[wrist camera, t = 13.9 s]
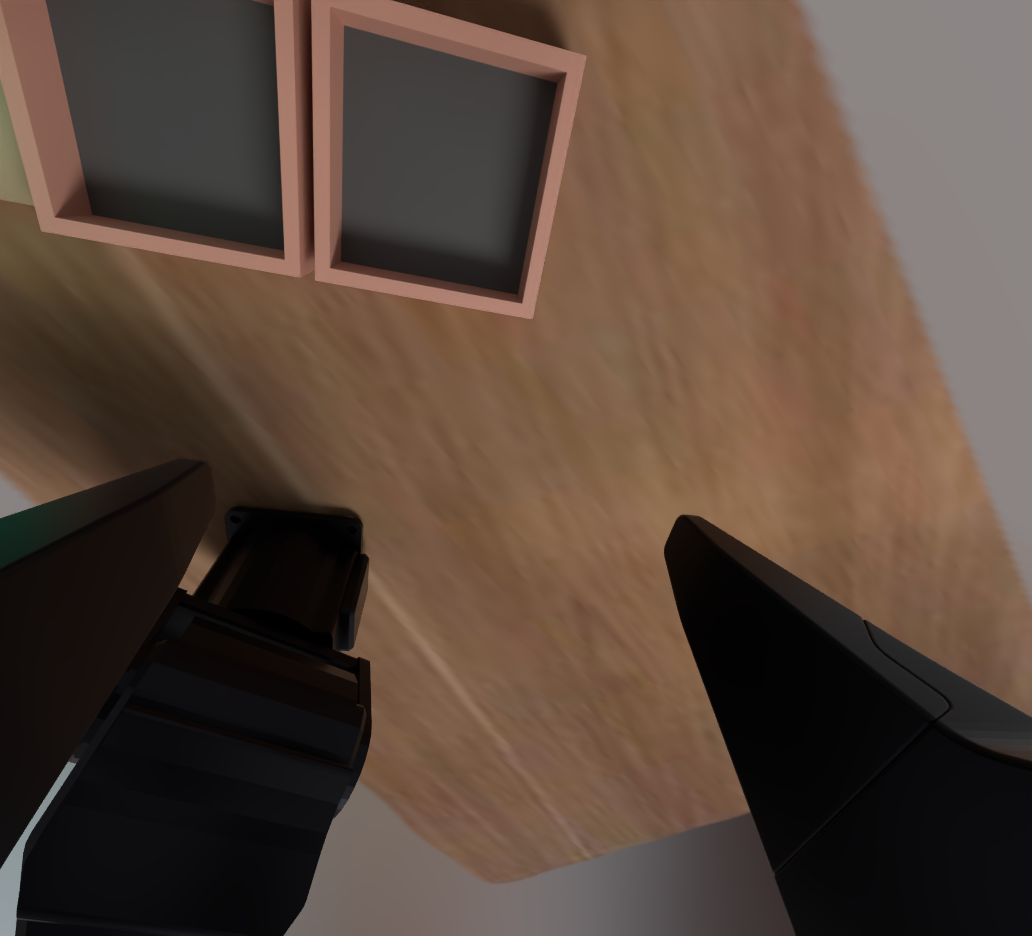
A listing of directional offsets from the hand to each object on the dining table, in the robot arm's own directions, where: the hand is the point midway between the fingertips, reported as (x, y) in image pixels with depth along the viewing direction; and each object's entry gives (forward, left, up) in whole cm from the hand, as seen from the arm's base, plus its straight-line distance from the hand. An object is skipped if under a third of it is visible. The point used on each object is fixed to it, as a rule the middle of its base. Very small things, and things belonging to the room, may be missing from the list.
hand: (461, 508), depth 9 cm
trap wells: (-6, +5, -13) cm, 15 cm away
